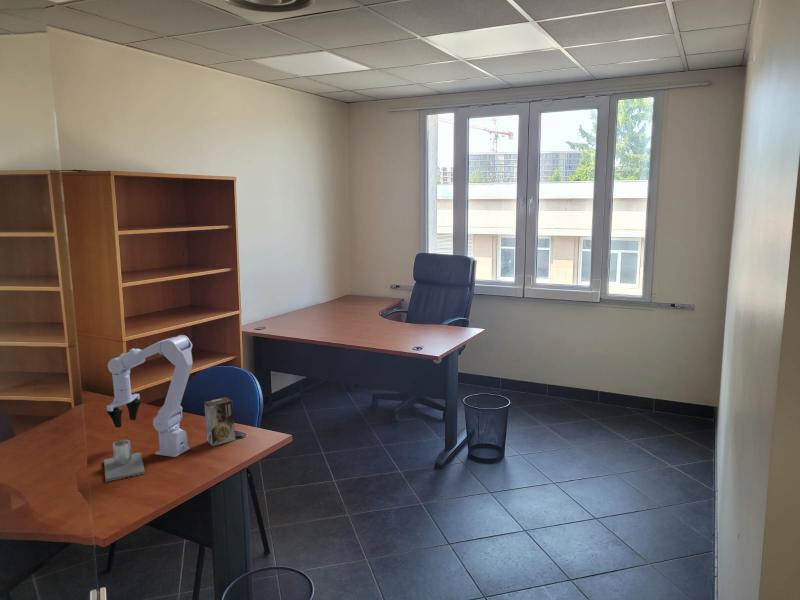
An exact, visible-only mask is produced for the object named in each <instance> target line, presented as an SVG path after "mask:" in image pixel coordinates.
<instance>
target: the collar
mask: <svg viewBox="0 0 800 600" xmlns="http://www.w3.org/2000/svg"><path fill="white" fill-rule="evenodd" d="M131 445H132V444H131V440H128V439H121V440H117V441H114V442H113V443H112V452H113V458H114V463H115V465H126V464H128V463H130V462H132V454H133V453H132V446H131Z"/></svg>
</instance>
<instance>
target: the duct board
mask: <svg viewBox="0 0 800 600" xmlns="http://www.w3.org/2000/svg"><path fill="white" fill-rule="evenodd" d="M131 454H132V462H130V463H128V464H126V465H115V463H114V457H110V458H105V459H103V462H104V463H103V464H104V477H105V480H104V481H105V483H107V482H108V481H109V482H113V480H114V481H118V480H121V479H122V478H123V479H126V478H125V477H128V478H131V477H130V476H132V477H136V475H137V476H141V474H142V475H145V474H146V471H145V467H144V462H143V456H142V452H141V451H140V452H136V453H135V452H134V453H131ZM123 479H122V480H123Z"/></svg>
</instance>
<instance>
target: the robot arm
mask: <svg viewBox="0 0 800 600" xmlns="http://www.w3.org/2000/svg"><path fill="white" fill-rule="evenodd" d="M192 349H193V343H192V341H191V340H190V339H189V337H188V336H186V335H184V334H179V335H177V336H172V337H169V338H166V339H163V340H160V341H157V342H155V343H153V344H151V345H149V346H147V347H145V348H143V349H140V348H135V347H133V348H131V349H129V350H128V352H126V353H121V354H119V356H118V357H115V358H111V359H110V360H109V361H108V363H107V368H108V371H109V373H111V375H112V385H113V395H114V399H113V401H112V402H111V403H110V404H108V405H106V413H107V415H109V417H110V418H111V420H112V422H113V424H114V427H115V428H121V427H122V414H123V409H120V407H122V406H125V405H126V408H127V410H128V416H129V419H130V421H136V420H137V414H138V410H139V408H140V405H141V404H142V402H141V400H140V398H141V397H140V396H141V395H140V393H134V394H132V387H131V378H130V377H131V376H130V374H131V369H133V368H135V367H137V366H139V365H142V364H144V363H145V362H146V358H149V357H151V356H153V355H156V354H159V355H163V356H164V357H165V358H166V359H167V360H168V361H169V362H170V363H171V364H172V365H173V366H175V368H174V370H173V374H172V378H171V381H170V384H169V387H168V390H167V394H166V397H165V400H164V404H163V405H162V406H161V408H159V410H158V412H157V414H156V416H154V418H153V420H152V424H153V425H152V426H153V427H154V429H155V430H156V431H157V432H158V442H159V450H157V451H155V452H154V455H158V456H164V457H165V456H166V457H171V458H176V457H178V456H179V455H181V454H183V453H185V452H187V451H188V450H190V447H189V445H188V434H187V432H186V430H183V429H182V428H180V423H181V421H182V420H183V409H184V408H183V407H182V405H181V403H182V400H183V396H184V393H185V390H186V388H187V383H188V381H189V377H190V374H191V371H192V367H193V364H194V363H193V354H192Z"/></svg>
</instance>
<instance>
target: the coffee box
mask: <svg viewBox="0 0 800 600" xmlns="http://www.w3.org/2000/svg"><path fill="white" fill-rule="evenodd" d="M203 403H204V406H203V407H204V415H205V416H204V417H205V427H206V438H207V439H206V440H207V443H208V444H210V445H211V446H212V447H215V446H218V445H221V444H222V445H223V444H226V443H230V442H234V441H236V433H235V423H234V421H235V420H234V410H233V409H234V407H233V400H232V399H230V398H228V397H227V396H224V397H220V398H216V399H211V400H207V401H206V400H205V401H204V402H203Z"/></svg>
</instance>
